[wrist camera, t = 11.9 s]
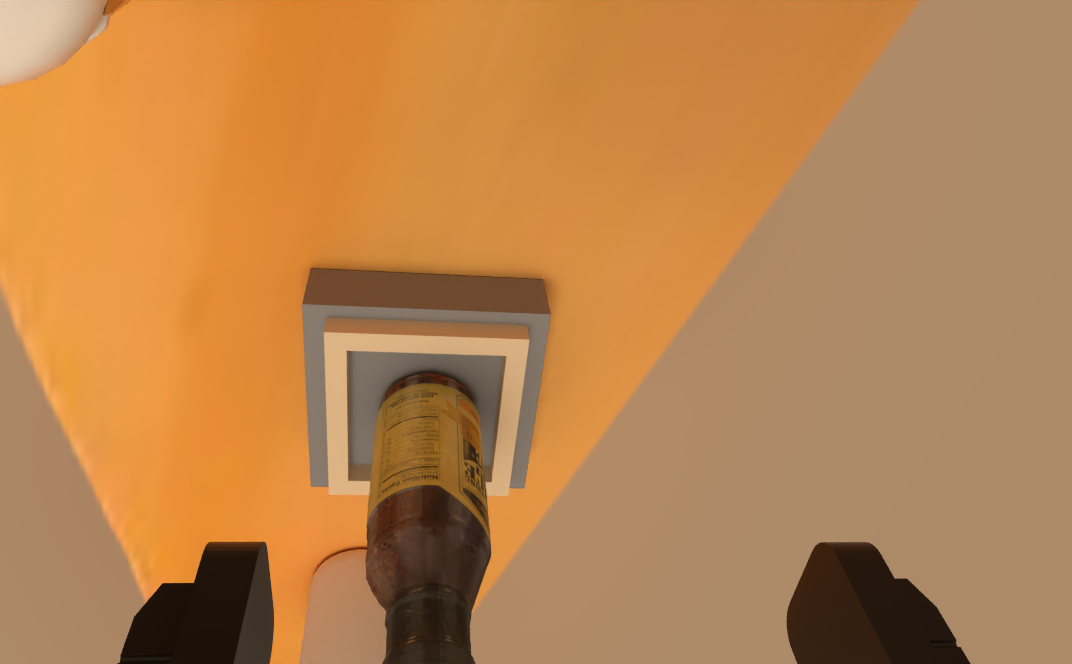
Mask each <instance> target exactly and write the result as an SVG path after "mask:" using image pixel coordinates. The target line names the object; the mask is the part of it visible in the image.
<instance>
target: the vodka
mask: <svg viewBox="0 0 1072 664" xmlns="http://www.w3.org/2000/svg"><path fill="white" fill-rule="evenodd" d="M130 1H131V0H0V87H2V86H7V85H11V84H16V83H20V82H25V81H29V80H34V79H37V78H38V77H40V76H42V75H44V74H46V73H48V72H50V71H52V70H54V69H55V68H57V67H59V66H61V65H63V64H65V63H66V62H67V61H68V60H69V59H70V58H71V57H72V56H73V55H74V54H75V53H76V52H77V51H78V50H79V49H80V48H81V47H82V46H83V45H84V44H86V43H88V42H89V41H91V40H92V39H94V38H95V37H97V36H98V35H99V34H101V33H102V32H103V31H104V30H105V29H106V28H107V27H108V24H109V21H110V17H111V15H113V14H114V13H115V12H116V11H118V10H119V9H120V8H122V7H123V6H124V5H126V4H127V3H128V2H130Z"/></svg>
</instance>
